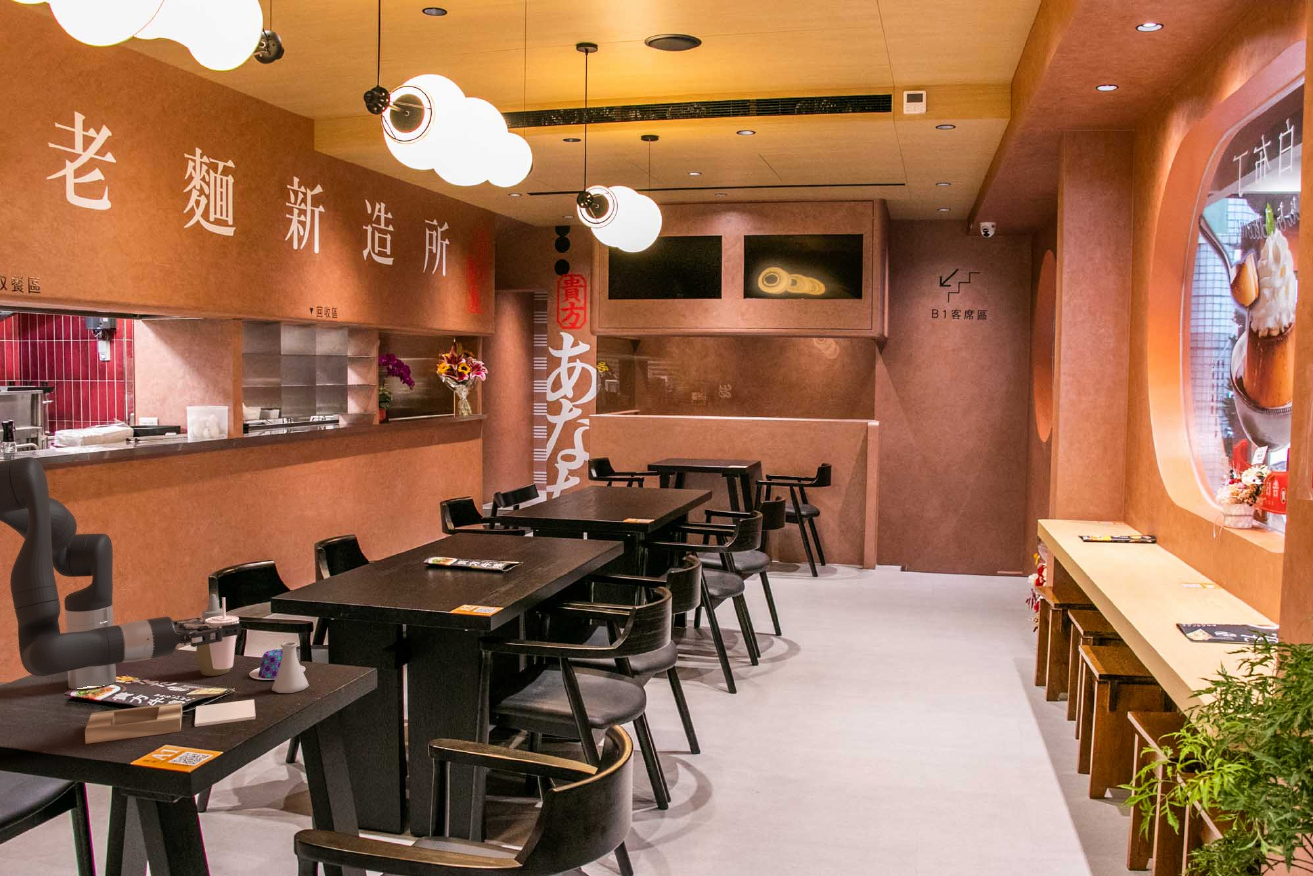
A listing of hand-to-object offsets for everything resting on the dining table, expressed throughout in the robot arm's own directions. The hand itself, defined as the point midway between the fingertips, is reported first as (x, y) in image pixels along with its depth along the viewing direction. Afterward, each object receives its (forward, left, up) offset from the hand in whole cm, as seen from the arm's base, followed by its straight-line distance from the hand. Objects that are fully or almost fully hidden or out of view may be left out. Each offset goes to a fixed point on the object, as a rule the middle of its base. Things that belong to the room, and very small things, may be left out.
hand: (233, 625), depth 209 cm
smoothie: (+1, -2, -8) cm, 9 cm away
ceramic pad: (+1, -2, -18) cm, 18 cm away
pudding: (-24, +9, -18) cm, 32 cm away
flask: (-11, +11, -18) cm, 24 cm away
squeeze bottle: (-30, -4, -18) cm, 35 cm away
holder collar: (+3, -18, -18) cm, 25 cm away
